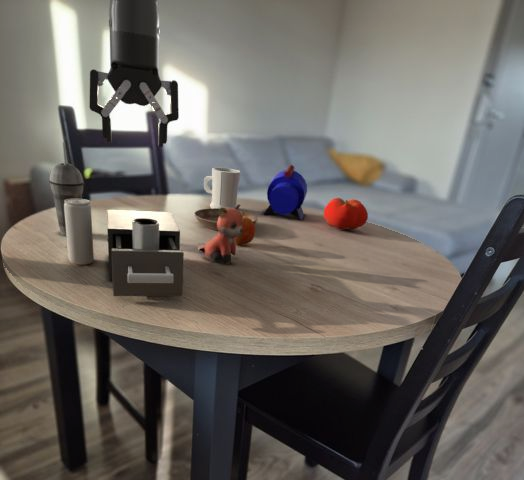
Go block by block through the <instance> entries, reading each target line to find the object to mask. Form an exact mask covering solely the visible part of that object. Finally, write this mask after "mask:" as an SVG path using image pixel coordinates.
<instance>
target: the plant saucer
mask: <svg viewBox="0 0 524 480" xmlns="http://www.w3.org/2000/svg"><path fill="white" fill-rule="evenodd" d="M219 209H220V208H211V207H209V208H202V209H198V210H196V211H195V212H193V213H194V214H193V215H194V217H195V219H196V220H197V222H199V224H200V225H201V226H202V227H204V228H207V229H210V230H214V231H218V228H217V221H218V218H219V216H220V215H219ZM238 210H239V211H240V212H241V213H242V215H243V212H244V215H243V216H246V217H248V218H249V219H251V220H252V221H253V223H254V225H255V224H256V223H257V221H258V216H257V215H256V214H253V213H251V212H248V211H243V210H240V209H238Z"/></svg>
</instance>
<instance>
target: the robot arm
mask: <svg viewBox="0 0 524 480" xmlns="http://www.w3.org/2000/svg"><path fill="white" fill-rule="evenodd" d="M108 8H109V9H108V17H109V18H108V27H109V61H110V66H109V71H108V72H104V71H99V70H97V69H94V68H93V69H91V70H90V71H89V110H90V111H92V112H95V114H98V115H99V116H100V117H101V129H102V132H101V134H102V137H103V138H104V139H106V142H107V143H112V117H111V115H110V114H111V113H112V112H113V110H115V108H116V106H118V104H119V103H120V101H121V102H122V103H123V104H125V105H133V104H134V105H135V104H136V105H137V106H141V107H145V106H150V107H151V108H152V111H153V112H154V113H155V115H156V117H157V118H158V119H159V122H158V126H157V127H158V131H157V146H158V148H163V147H164V145H166V144H167V142H168V125H169V123H170V122H174V121H175V122H176V121H178V120H179V119H180V117H179V114H180V112H179V83H178V81H177V80H175V79H174V80H173V79H172V80H161V78H160V73H159V72H160V71H159V70H160V69H159V68H160V34H161V29H160V11H159V0H109V7H108ZM106 80H107V81H108V83H109V85H110V86H111V88H112V89H113V91H114V93H113V94H112V96H111V97H110V99H108V101H107V102H106V104H105V105H104V106H102V105H100V104H99V87H102V86H104V82H105V81H106ZM162 88H163V90H164V93H165V94H166V95H167V96H169V112H167V113H165V112H164V110H163V108H162V107H161V105H160V103H159V102H158V100H157V99H156V95H157V94H158V92H159V91H160V90H161V89H162Z"/></svg>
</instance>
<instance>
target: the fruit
mask: <svg viewBox="0 0 524 480" xmlns="http://www.w3.org/2000/svg"><path fill="white" fill-rule="evenodd" d="M244 212H245V211H244ZM244 212H243V215H244ZM242 222H243V223H242V234H241V235H240V236H239V237H235V239H234V241H235V245H238V246H246V245H248V244H250V243H251V242H252V241H253V239H254V238H255V236H256V225H255V224H254V223H253V221H252V220H251V219H249V218H248V217H246V216H243V220H242Z"/></svg>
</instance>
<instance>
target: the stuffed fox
mask: <svg viewBox="0 0 524 480" xmlns="http://www.w3.org/2000/svg"><path fill="white" fill-rule="evenodd" d="M240 207H241V204H237V206H236V207H235V208H233V209H232V208H228V209H225V208H223V207H221V208H220V209H219V215H220V216H219V218H218V221H217V228H218V230H217V231H218V233H217V234H216V235H215V236H214V237H213V238H211V239H210V240H209V241H207V243H206V244H205V243H198V244H197V249H198V251H200V252H202V253H204V255H205V257H206V259H208V260H210V262H215V263H222V264H226V265H231V264H232V257H233V256H236V255H237V254H236V253H237V246H236V245H237V244H235V241H234V239H235V237H239V236H240V235H241V234H242V223H243V222H242V220H243V215H242V213H241V212H240V211H241V210H240V209H239V208H240ZM239 210H240V211H239Z"/></svg>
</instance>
